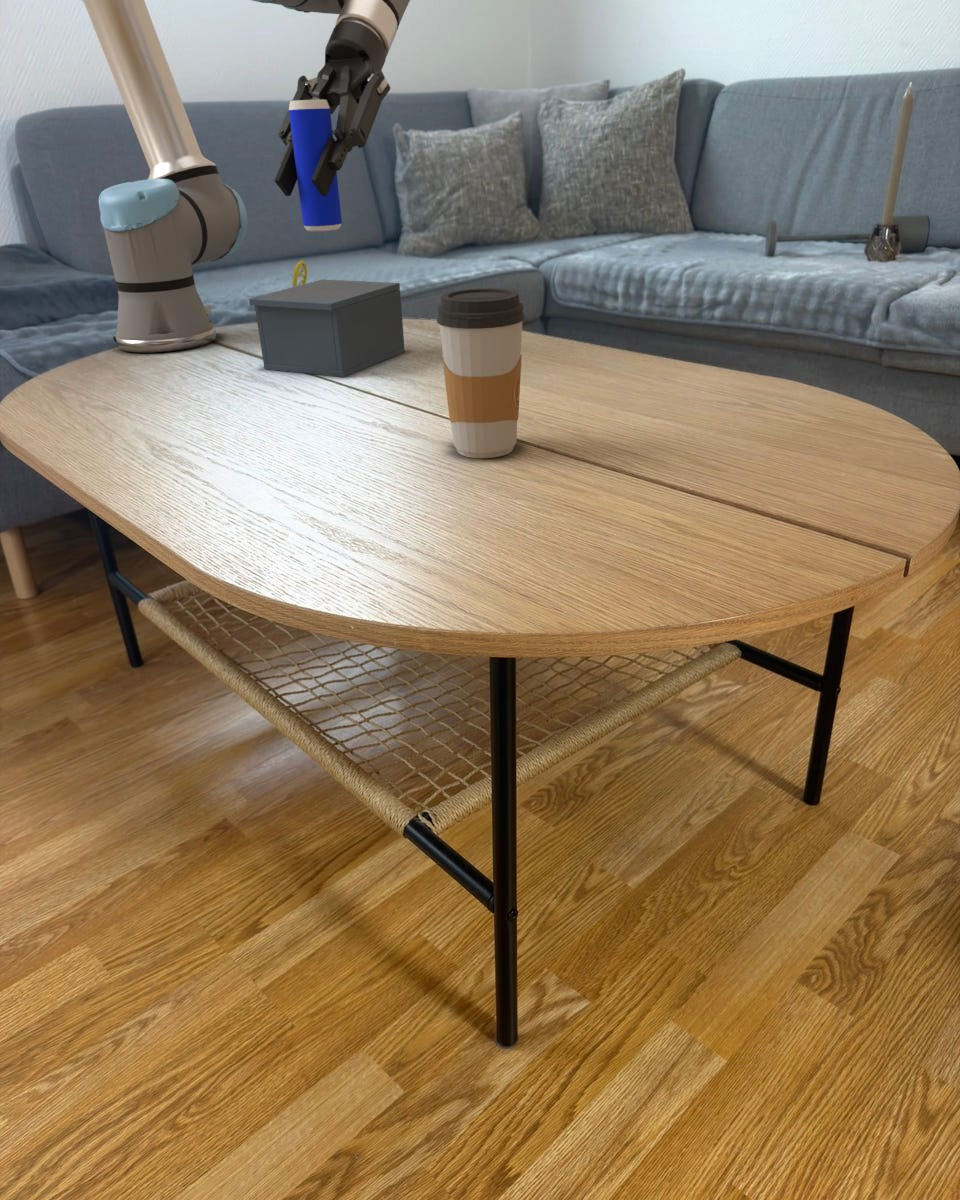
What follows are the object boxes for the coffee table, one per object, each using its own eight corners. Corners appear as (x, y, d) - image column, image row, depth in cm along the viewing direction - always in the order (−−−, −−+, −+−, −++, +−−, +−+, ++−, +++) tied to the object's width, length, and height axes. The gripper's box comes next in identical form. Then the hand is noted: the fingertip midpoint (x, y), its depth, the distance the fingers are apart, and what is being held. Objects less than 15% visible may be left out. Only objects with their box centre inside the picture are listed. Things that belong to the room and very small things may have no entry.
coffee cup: (527, 461, 84) (525, 301, 77) (441, 463, 85) (432, 304, 78) (524, 434, 92) (523, 285, 85) (446, 436, 92) (438, 288, 85)
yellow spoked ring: (302, 362, 147) (261, 323, 139) (291, 360, 149) (250, 321, 141) (341, 300, 149) (304, 259, 141) (330, 299, 151) (292, 257, 143)
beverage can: (349, 227, 117) (337, 99, 110) (328, 231, 113) (313, 99, 106) (318, 227, 119) (303, 101, 112) (296, 231, 115) (279, 101, 108)
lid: (331, 310, 111) (330, 303, 111) (249, 305, 117) (248, 298, 117) (400, 289, 124) (399, 282, 124) (323, 285, 130) (322, 279, 129)
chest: (343, 377, 116) (335, 309, 112) (264, 369, 122) (254, 304, 118) (404, 351, 128) (400, 289, 124) (330, 345, 134) (323, 285, 130)
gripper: (430, 62, 115) (373, 209, 111) (320, 71, 123) (261, 208, 118) (406, 11, 109) (344, 165, 104) (291, 23, 116) (228, 167, 112)
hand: (300, 188), depth 111 cm, fingers closed on beverage can, 5 cm apart
